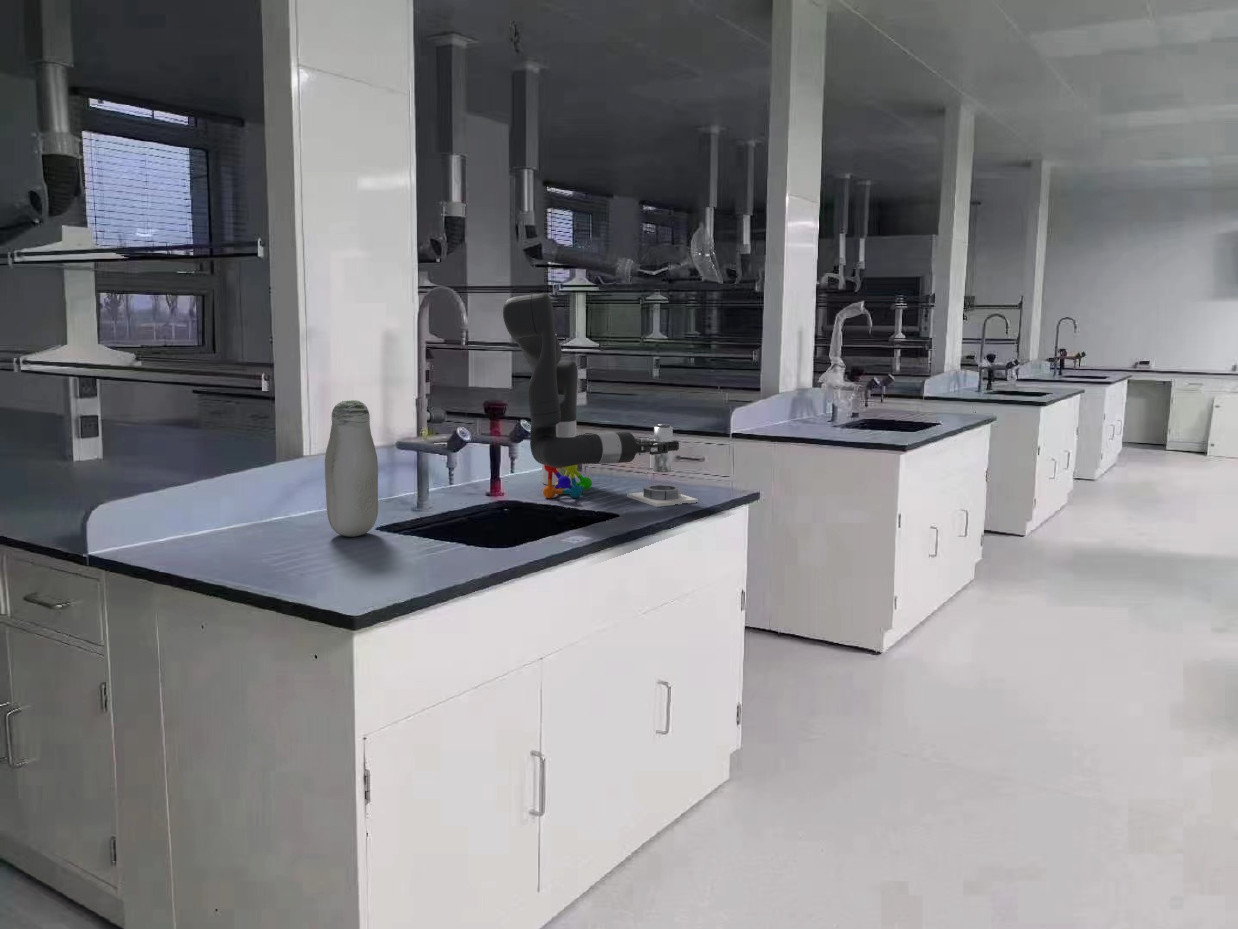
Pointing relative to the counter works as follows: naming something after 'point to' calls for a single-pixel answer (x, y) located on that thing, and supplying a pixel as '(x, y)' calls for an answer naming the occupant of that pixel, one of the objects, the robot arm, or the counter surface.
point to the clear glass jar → (663, 460)
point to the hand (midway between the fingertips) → (672, 444)
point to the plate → (662, 502)
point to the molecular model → (566, 482)
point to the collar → (662, 492)
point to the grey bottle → (351, 471)
